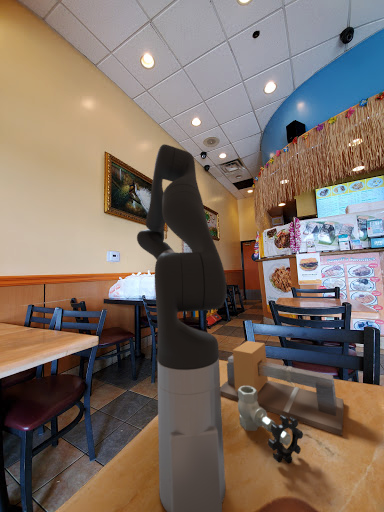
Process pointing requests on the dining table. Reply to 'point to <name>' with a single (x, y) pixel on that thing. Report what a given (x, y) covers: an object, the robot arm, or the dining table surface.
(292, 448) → the valve
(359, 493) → the dining table surface
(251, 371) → the collar
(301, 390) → the board
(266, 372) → the rectangular bar
